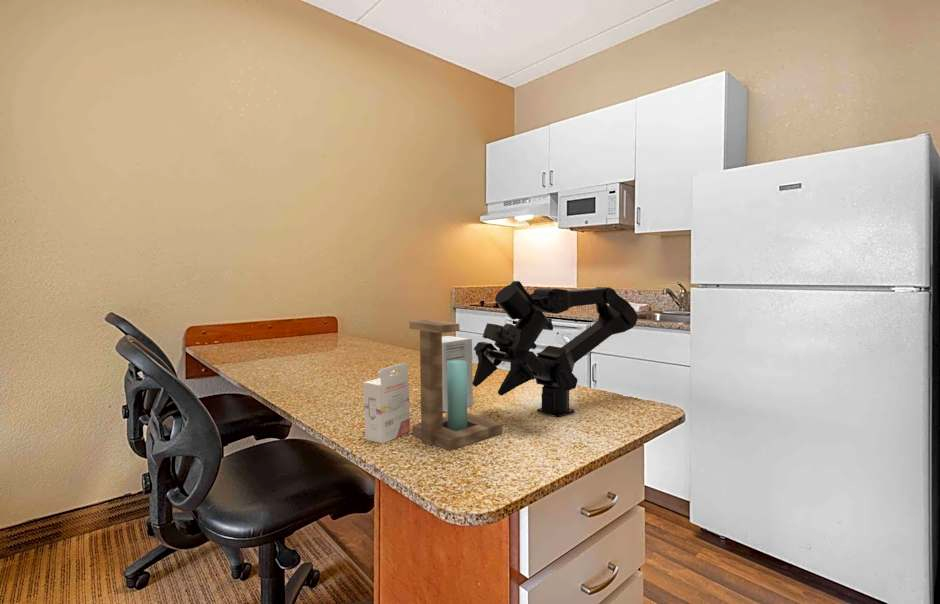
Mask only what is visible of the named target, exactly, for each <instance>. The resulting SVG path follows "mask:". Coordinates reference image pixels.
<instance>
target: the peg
mask: <svg viewBox="0 0 940 604" xmlns="http://www.w3.org/2000/svg"><path fill="white" fill-rule="evenodd" d="M446 413H447V415H446V416H448V429H450V430H453V431H459V430H462V429H466V428H467V413H468V407H467V361H464V360H450V361H447V412H446Z"/></svg>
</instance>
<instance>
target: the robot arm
mask: <svg viewBox="0 0 940 604" xmlns="http://www.w3.org/2000/svg"><path fill="white" fill-rule="evenodd" d="M494 298H495V299H494V300H495V303H496V304H497V305H498V306H499V307H500V308H501V310H502V311H504V313H506V315H507V316H508V317H509V318H510V320H517V322H516V323H515V324H512V323H505V324H504V325H499V324H495V323H490V322H489V323H488V322H487V323H486V326H485V328H484V331H483V334H482V338H483V339H488V340H490V341H493V342H494V344H492V343H491V342H486V341H479V342H477V343H476V345H475V346H474V348H473V351H474V352H475V355H476V356H477V360H478V361H477V365H476V366H477V368H476V371H475V373H474V377H473V383H472V384H473V386H474V387H476V388H477V387H478V386H480V384H482V383H483V382H484V381H485V380H486V379H488V378H489V377H490V376H491V375H492V374H493V373H494V372H495V371H497V370H498V367H497V366H499V365H501V363H502V362H505V363H510V364H509V365H510V369H509V371H508V373H507V375H506V376H505V378H504V380H503V381H502V382H501V384H500V387H499V388H498V391H497V394H498V396H504V395H505V394H507V393H509V392H510V391H513V390H514V389H515V388H517V387H519V386H521V385H523V384H525V383H527V382H529V381H531V380H532V381H534V380H535V382H536V384H537V385H542V387H541V388H542V389H541V390H542V391H541V392H542V393H541V407H539V408H537V409H536V412H538V413H542V414H546V415H548V416H549V415H550V416H552V417H557V418H559V417H563V416H566V415H568V414H572V413H575V409H573V408H570V391H572V390H573V389H574V390H575V389H576V388H577V384H578V378H577V377H576V375H574V373H573V371H574V366H575V364H576V363H577V362H579V360H581V359H582V358H583V357H585V356H586V355H588V354H589V353H590V352H591V351H593V350H595V348H596V347H599V346H600V344H602V343H603V342H605V341H606V340H607V339H609V338H610V337H611V336H613V335H617V334H622V333H625V332H627V331H630V330H631V329H633V328H634V327H635V326H636V325H637V321H638V313H637V312H636V310H635V309H634V307H633V306H632V305H631V303H629V302H628V301H627V300H626V299H624V298H623V297H622V296H620V295H618V293H617V291H615V289H613V288H612V287H609V286H608V287H605V286H604V287H603V286H602V287H601V286H597V287H594V288H585V289H584V288H583V289H571V290H568V289H563V288H551V287H550V288H548V287H546V288H545V287H537V288H535V289H534V290H533V293H529V292H528V291H527V290H526V288H524V286H523V284H522V282H521V281H520V280H513V281H512V282H511V283H510V284H508V285H506V286H505V287H503V288H502V289H501V290H498V292H497V294H496V295H495V297H494ZM590 305H591V306H592V305H595V307H596V312H597V314H598V317H597V321H596V322H595V323H593V324H592V325H590V326H589V327H588V328H586V329H585V330H583V331H582V332H580V333H579V334H578V335H577V336H575V337H574V338H572V339H571V340H569V341H568V342H567V343H566V344H564V345H562V347H558V346H553V345H547V346H546V347H545V348H544V349H543V350H542V351H539V352H537V353H535V352H534V351H531V350H536V348H538V347H537V346H538V345H537V344H536V343H535V342H536V341H537V339H538V338H539V337H540V335H541V333H542V332H543V330H547V331H553V330H554V325H553V322H552V319H553V318H550V317H547V316H546V314H552V315H553V314H554V315H555V314H556V315H558V314H561V313H564V312H566V311H568V310H569V309H570V308H573V307H580V306H590ZM544 313H545V314H544ZM497 348H498V349H497ZM530 349H531V350H530Z"/></svg>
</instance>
